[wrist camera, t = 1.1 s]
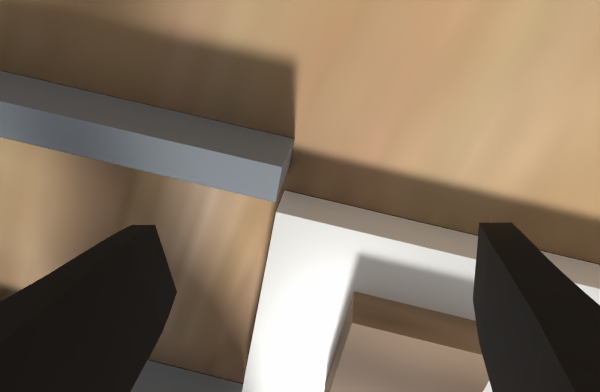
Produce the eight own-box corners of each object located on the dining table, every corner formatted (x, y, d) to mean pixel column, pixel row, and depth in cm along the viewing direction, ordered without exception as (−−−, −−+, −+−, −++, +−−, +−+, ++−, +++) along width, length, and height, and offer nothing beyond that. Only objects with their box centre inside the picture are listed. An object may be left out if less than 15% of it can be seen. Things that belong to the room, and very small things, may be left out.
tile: (443, 413, 23) (449, 451, 21) (324, 383, 23) (321, 418, 21) (489, 324, 20) (501, 359, 18) (354, 291, 20) (351, 323, 19)
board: (509, 438, 26) (519, 474, 24) (248, 373, 26) (239, 402, 25) (619, 269, 20) (642, 299, 18) (284, 190, 21) (276, 212, 19)
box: (243, 401, 28) (229, 448, 25) (-20, 335, 28) (-61, 373, 26) (294, 139, 20) (282, 167, 17) (-75, 53, 20) (-142, 67, 18)
